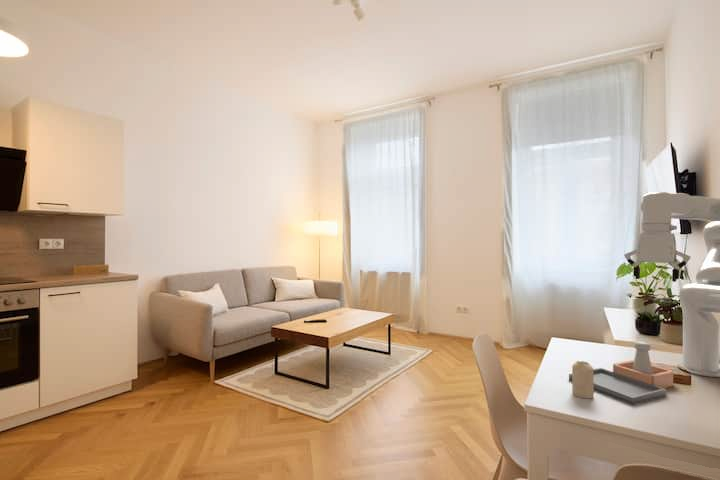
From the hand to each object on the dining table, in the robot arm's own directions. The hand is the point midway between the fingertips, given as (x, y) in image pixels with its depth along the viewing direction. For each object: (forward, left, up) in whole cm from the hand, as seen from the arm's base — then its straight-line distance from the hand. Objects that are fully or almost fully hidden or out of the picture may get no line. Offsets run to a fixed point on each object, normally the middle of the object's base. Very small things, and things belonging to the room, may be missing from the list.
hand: (655, 280), depth 121 cm
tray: (+18, -2, -34) cm, 39 cm away
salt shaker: (+4, -2, -34) cm, 35 cm away
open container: (+4, -2, -34) cm, 34 cm away
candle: (+33, -2, -34) cm, 48 cm away
